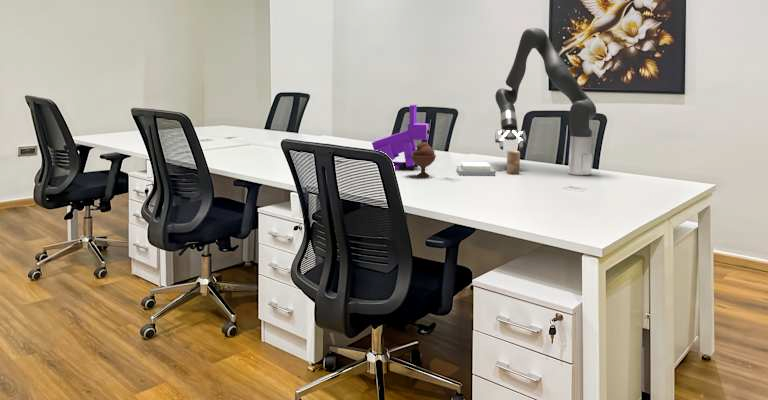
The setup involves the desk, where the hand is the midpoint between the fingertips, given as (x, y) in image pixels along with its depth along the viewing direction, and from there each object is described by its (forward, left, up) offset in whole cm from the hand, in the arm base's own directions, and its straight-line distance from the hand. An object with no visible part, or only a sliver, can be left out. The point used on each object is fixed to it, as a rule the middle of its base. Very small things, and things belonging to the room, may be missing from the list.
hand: (511, 148), depth 296 cm
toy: (+37, +37, -11) cm, 54 cm away
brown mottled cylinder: (-5, +4, -10) cm, 12 cm away
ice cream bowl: (+11, +44, -11) cm, 46 cm away
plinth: (+5, +18, -10) cm, 21 cm away
